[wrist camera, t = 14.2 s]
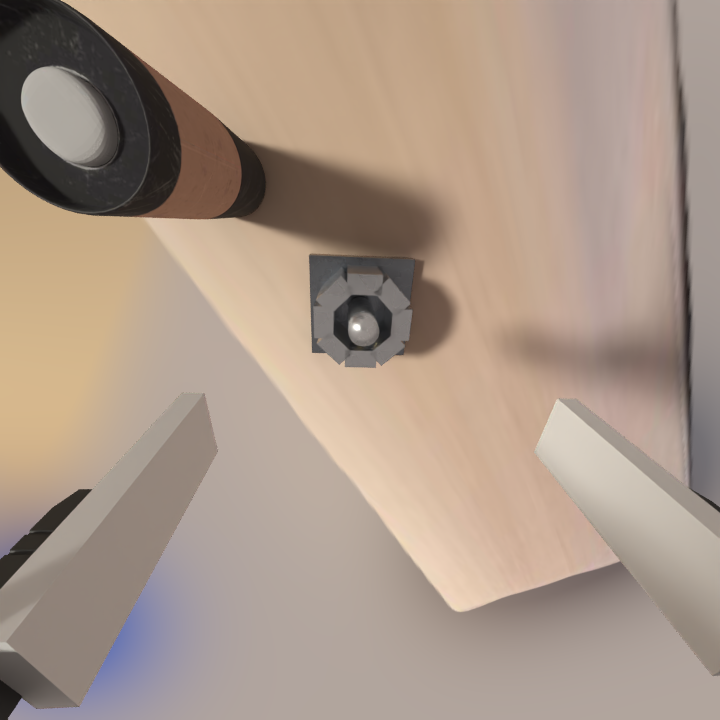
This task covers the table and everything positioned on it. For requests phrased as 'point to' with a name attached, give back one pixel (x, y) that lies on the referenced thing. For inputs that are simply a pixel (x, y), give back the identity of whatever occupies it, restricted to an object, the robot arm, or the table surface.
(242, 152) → the travel mug
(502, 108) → the table surface
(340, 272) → the ring
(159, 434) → the robot arm
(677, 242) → the table surface
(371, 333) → the shaft block
